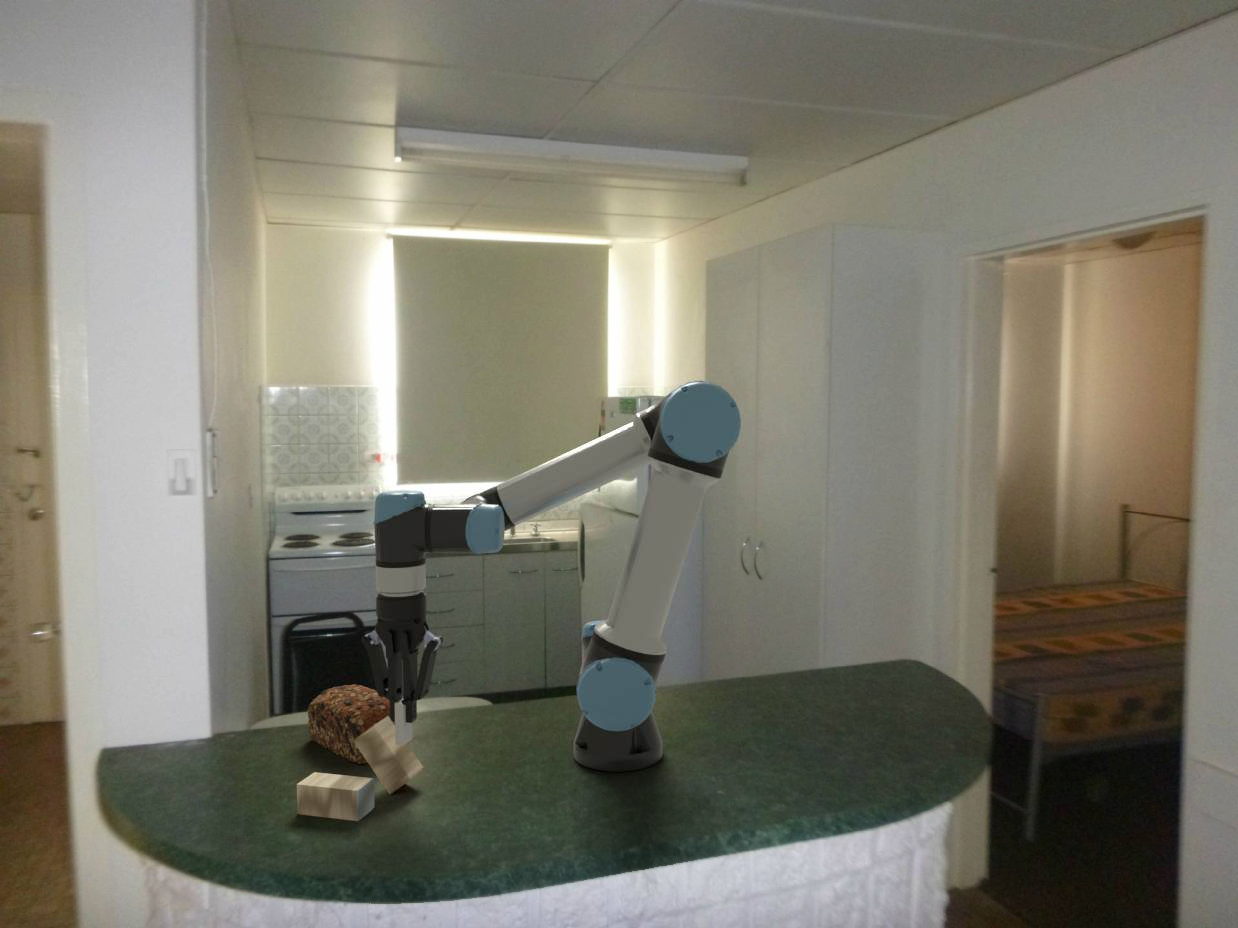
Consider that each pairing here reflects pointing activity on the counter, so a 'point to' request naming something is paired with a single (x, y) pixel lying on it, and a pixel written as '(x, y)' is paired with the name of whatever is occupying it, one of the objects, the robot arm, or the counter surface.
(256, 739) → the counter surface
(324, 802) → the light wood rectangular bar
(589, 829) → the counter surface
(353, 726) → the bread
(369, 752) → the light wood tall block
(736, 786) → the counter surface
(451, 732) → the counter surface
